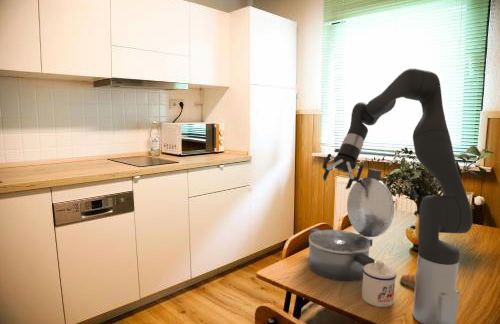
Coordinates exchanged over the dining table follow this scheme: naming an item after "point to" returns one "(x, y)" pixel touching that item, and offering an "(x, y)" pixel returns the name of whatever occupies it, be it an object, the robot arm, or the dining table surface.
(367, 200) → the cooker lid
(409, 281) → the pastry
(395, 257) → the dining table surface
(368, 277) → the teacup with lid
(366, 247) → the cooker pot
